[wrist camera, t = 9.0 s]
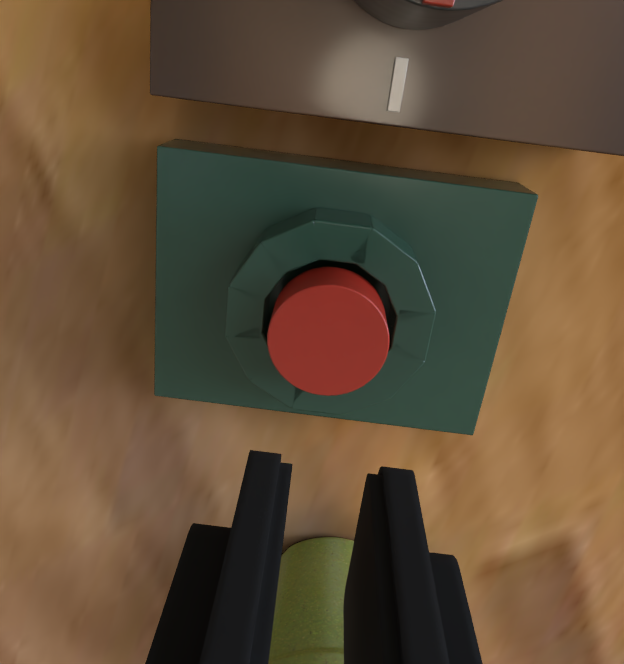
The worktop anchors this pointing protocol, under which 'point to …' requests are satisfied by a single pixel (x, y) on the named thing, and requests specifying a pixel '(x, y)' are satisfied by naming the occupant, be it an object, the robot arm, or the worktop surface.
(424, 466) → the worktop surface
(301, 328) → the button
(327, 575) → the plant pot
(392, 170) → the button box
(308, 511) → the worktop surface
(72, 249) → the worktop surface
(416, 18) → the dial
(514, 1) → the dial panel
